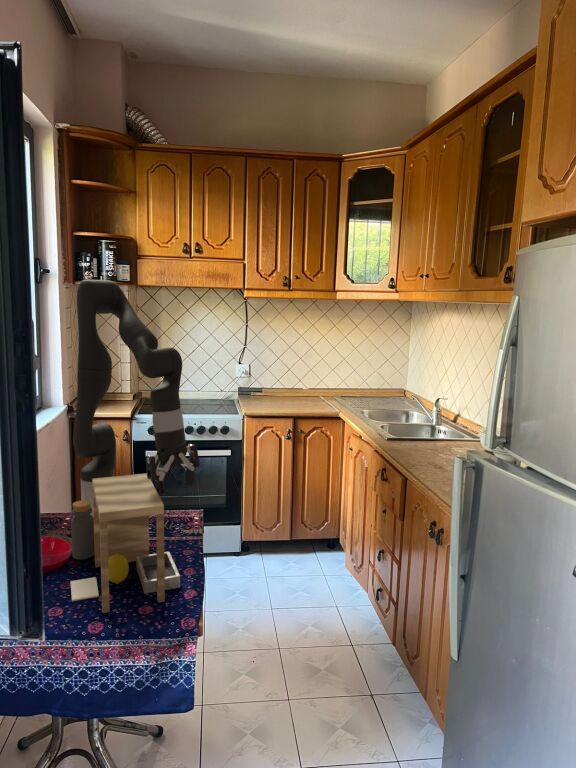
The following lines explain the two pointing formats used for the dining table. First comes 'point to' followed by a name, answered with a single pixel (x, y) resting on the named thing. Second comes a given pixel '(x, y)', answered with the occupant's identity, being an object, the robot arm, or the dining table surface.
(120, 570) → the lemon
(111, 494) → the small wooden table
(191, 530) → the dining table surface
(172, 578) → the open rectangular box
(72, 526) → the bottle
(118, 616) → the dining table surface
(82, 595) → the pad
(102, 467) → the robot arm
